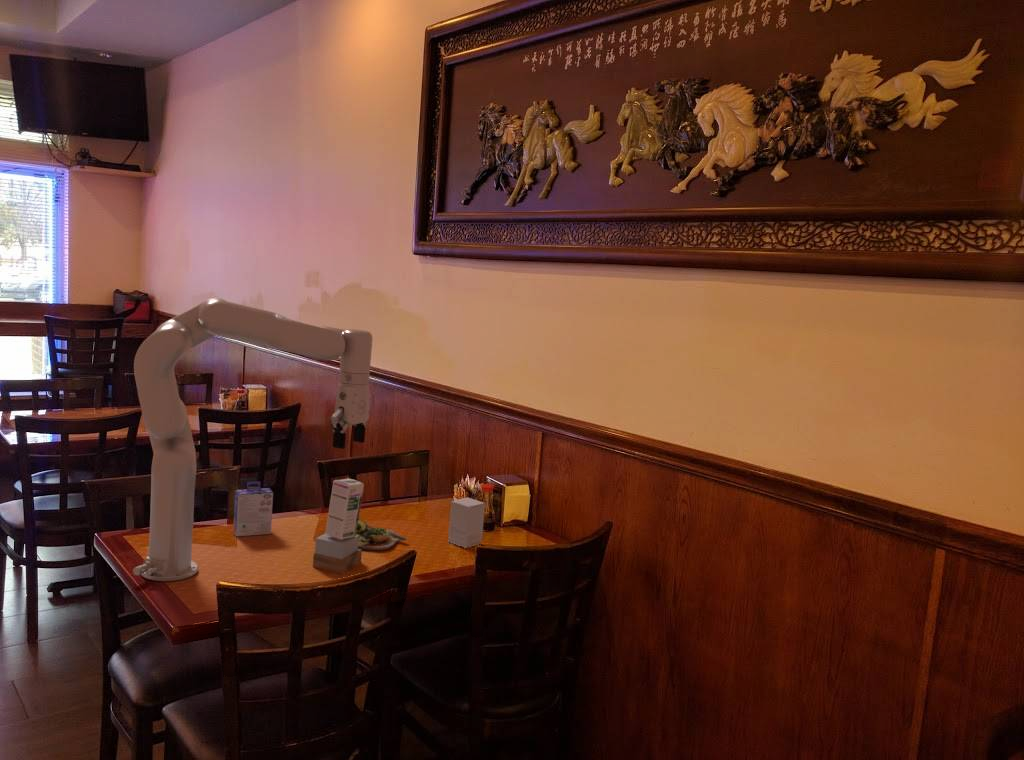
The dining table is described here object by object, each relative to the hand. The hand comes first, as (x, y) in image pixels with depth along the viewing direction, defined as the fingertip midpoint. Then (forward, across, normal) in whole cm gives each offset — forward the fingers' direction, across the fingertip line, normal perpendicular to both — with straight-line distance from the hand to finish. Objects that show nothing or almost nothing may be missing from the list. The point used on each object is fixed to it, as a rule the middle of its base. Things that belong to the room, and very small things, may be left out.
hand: (348, 444), depth 202 cm
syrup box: (+24, -1, 0) cm, 24 cm away
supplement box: (+32, +34, -21) cm, 51 cm away
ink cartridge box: (+32, +7, +33) cm, 47 cm away
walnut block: (+32, -1, 0) cm, 32 cm away
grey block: (+28, -1, 0) cm, 28 cm away
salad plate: (+32, +20, +4) cm, 38 cm away
